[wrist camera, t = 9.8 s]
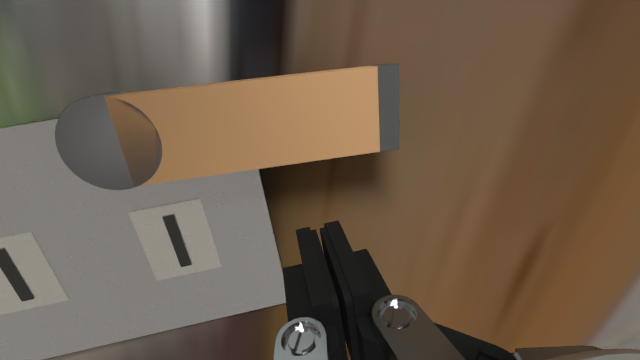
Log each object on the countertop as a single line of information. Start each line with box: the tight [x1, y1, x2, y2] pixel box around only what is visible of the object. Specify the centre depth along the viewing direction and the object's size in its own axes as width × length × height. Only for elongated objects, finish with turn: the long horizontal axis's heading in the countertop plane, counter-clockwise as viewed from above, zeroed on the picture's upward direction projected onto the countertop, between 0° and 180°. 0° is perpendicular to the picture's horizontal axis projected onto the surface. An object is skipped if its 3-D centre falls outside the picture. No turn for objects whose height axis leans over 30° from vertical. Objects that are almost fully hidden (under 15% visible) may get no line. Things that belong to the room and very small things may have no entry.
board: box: [0, 118, 286, 360], centre depth 23 cm, size 18×24×3 cm
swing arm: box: [55, 64, 399, 190], centre depth 19 cm, size 19×5×2 cm, turn 96°
